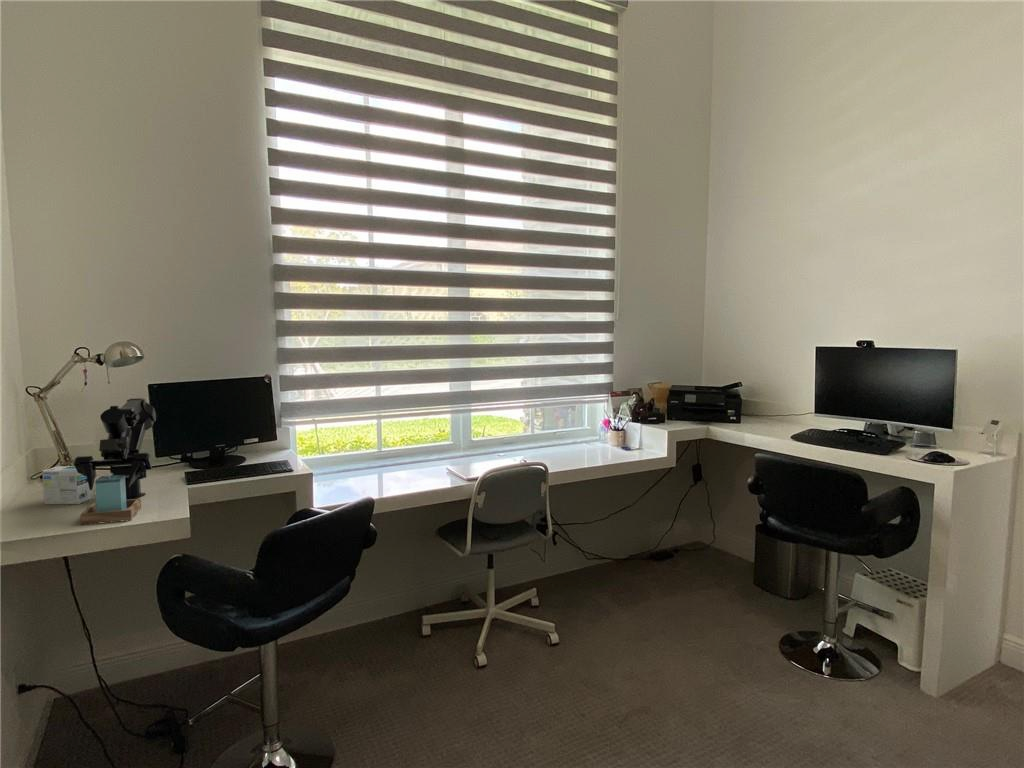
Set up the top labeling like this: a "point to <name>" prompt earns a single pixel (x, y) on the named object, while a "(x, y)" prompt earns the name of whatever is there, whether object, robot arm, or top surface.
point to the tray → (110, 513)
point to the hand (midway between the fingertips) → (109, 488)
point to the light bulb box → (65, 486)
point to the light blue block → (111, 493)
